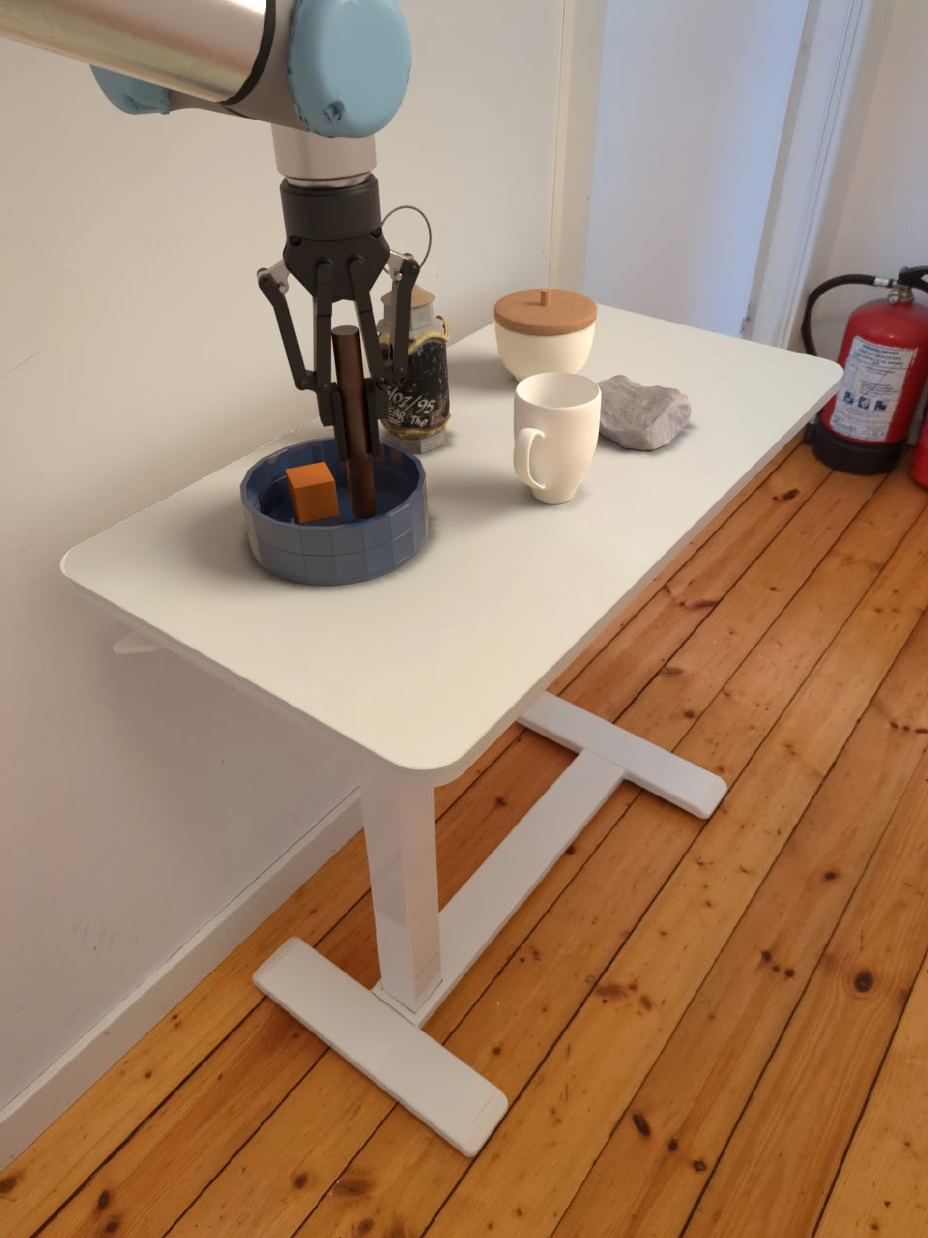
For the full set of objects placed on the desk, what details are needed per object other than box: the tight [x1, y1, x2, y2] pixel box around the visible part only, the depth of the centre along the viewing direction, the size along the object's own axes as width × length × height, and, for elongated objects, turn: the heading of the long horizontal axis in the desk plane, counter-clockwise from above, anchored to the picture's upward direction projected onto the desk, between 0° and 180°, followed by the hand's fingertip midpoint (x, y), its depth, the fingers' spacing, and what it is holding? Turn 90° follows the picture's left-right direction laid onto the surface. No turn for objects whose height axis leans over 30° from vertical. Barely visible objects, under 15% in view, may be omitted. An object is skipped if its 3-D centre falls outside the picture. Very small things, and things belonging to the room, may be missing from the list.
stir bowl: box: [239, 436, 430, 586], centre depth 86 cm, size 17×17×6 cm
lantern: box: [376, 204, 452, 454], centre depth 94 cm, size 9×8×25 cm
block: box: [285, 462, 339, 524], centre depth 89 cm, size 4×4×4 cm
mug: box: [513, 372, 601, 505], centre depth 87 cm, size 12×8×11 cm
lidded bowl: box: [493, 287, 598, 384], centre depth 111 cm, size 13×13×11 cm
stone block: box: [596, 374, 692, 451], centre depth 103 cm, size 12×5×10 cm
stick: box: [331, 324, 377, 519], centre depth 81 cm, size 2×2×18 cm
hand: (358, 452), depth 83 cm, fingers closed on stick, 2 cm apart
